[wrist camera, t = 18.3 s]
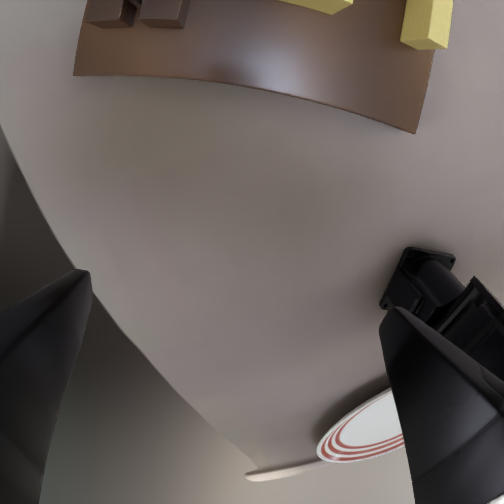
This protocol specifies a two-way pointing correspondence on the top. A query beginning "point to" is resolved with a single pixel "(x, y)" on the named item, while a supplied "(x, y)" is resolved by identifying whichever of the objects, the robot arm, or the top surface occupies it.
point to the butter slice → (427, 24)
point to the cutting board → (266, 50)
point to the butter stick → (322, 5)
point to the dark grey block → (136, 3)
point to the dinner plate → (364, 432)
